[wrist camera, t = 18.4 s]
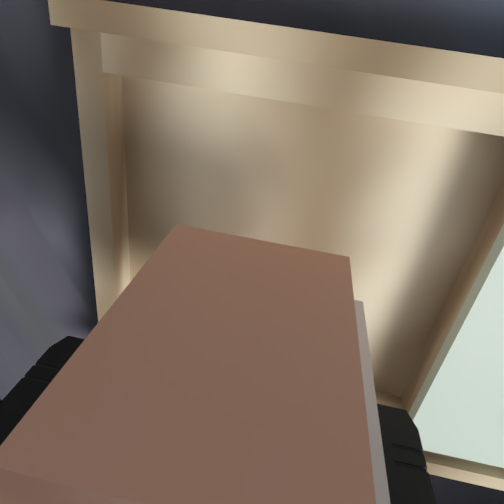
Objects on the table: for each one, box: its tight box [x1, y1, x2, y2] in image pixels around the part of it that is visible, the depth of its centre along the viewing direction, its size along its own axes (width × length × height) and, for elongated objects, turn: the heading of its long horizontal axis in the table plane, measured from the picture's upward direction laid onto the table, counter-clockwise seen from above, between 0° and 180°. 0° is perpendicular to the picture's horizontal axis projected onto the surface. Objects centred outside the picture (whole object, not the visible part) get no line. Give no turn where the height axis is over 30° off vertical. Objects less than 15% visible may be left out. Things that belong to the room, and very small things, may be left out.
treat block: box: [0, 224, 376, 504], centre depth 10 cm, size 6×6×8 cm
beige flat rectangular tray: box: [48, 0, 504, 491], centre depth 15 cm, size 30×17×3 cm, turn 83°
